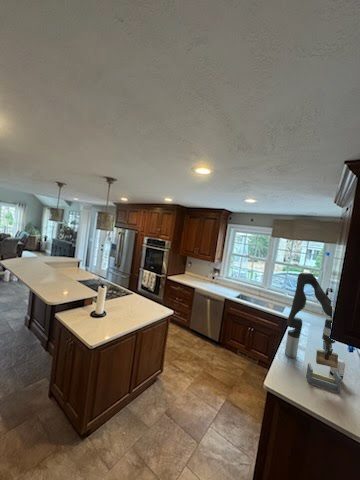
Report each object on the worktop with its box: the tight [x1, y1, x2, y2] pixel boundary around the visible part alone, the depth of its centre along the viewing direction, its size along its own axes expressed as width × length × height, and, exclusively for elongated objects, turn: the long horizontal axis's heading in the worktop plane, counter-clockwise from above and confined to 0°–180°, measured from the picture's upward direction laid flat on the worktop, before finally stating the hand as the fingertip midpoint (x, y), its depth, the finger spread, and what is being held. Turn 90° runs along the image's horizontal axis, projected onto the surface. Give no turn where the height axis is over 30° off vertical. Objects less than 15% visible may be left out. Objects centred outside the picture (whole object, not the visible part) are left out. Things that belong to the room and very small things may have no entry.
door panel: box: [315, 349, 339, 368], centre depth 147 cm, size 3×12×9 cm, turn 69°
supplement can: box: [328, 357, 346, 383], centre depth 156 cm, size 8×8×15 cm
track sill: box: [305, 362, 342, 394], centre depth 148 cm, size 9×18×10 cm, turn 69°
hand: (325, 358), depth 148 cm, fingers closed on door panel, 2 cm apart
